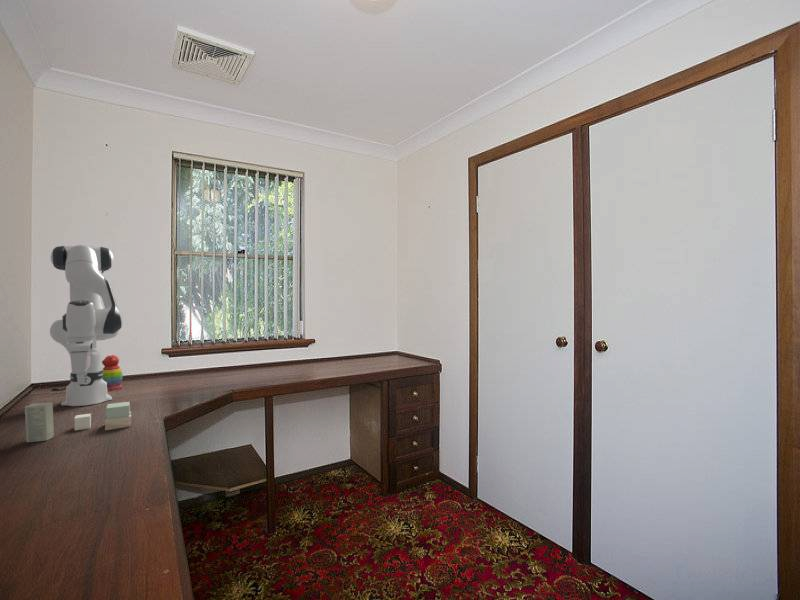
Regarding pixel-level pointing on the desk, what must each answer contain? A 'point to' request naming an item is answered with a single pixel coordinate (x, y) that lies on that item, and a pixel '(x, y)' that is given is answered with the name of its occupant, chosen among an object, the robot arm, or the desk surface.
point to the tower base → (118, 422)
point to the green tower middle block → (117, 410)
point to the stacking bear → (112, 373)
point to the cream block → (82, 421)
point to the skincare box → (39, 422)
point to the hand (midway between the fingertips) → (82, 382)
